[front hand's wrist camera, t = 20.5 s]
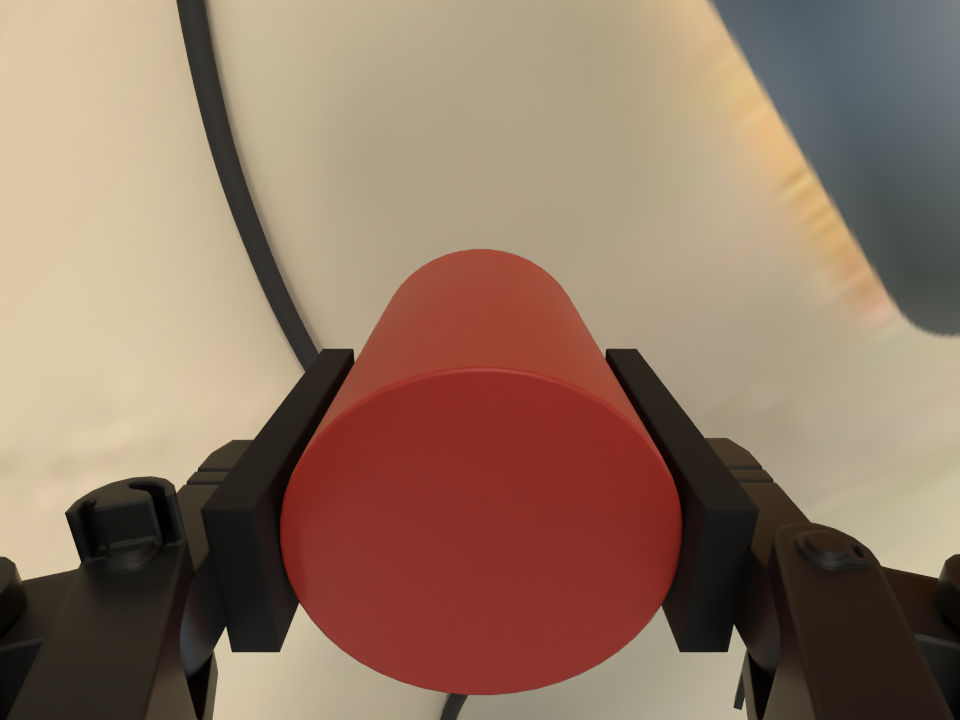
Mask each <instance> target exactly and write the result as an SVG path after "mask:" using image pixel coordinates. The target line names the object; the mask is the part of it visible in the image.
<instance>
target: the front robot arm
mask: <svg viewBox="0 0 960 720" xmlns="http://www.w3.org/2000/svg"><path fill="white" fill-rule="evenodd" d="M177 6H178V12H179V17H180V22H181V27H182V33H183V38H184V42H185V47H186V52H187V57H188V61H189V66H190V70H191V75H192V79H193V83H194V88H195V92H196V96H197V100H198V104H199V108H200V112H201V116H202V120H203V124H204V128H205V131H206V135H207V139H208V142H209V145H210V149H211V152H212V156H213V159H214V162H215V165H216V169H217V172H218V175H219V178H220V181H221V184H222V187H223V190H224V193H225V195H226V198H227V201H228V204H229V207H230V209H231V212H232V215H233V217H234V220H235V223H236V225H237V228H238V230H239V233H240V235H241V238H242V240H243V243H244V245H245V248H246V250H247V253H248V255H249V258H250V260H251V263H252V265H253V267H254V270H255V272H256V274H257V277H258V279H259V281H260V284H261V286H262V288H263V290H264V293H265V295H266V297H267V299H268V301H269V303H270V306H271V308H272V310H273V312H274V314H275V316H276V318H277V320H278V322H279V324H280V326H281V328H282V330H283V332H284V334H285V336H286V337H287V339H288V341H289V343H290V345H291V347H292V349H293V350H294V352H295V354H296V356H297V358H298V359H299V361H300V363H301V365H302V367H303V368H304V370H305V373H304V375H303V376H302V377H301V379H300V380H299V381H298V383H297V384H296V385H295V387H294V388H293V389H292V390H291V392H290V393H289V394H288V396H287V397H286V398H285V400H284V401H283V402H282V404H281V405H280V406H279V407H278V409H277V410H276V411H275V413H274V414H273V415H272V417H271V418H270V419H269V421H268V422H267V423H266V424H265V426H264V427H263V428H262V430H261V431H260V432H259V434H258V435H257V436H256V438H255V439H254V440H232V441H231V442H229V443H227V444H226V445H224V446H222V447H221V448H219V449H217V450H216V451H214V452H213V453H211V454H210V455H209V457H208V458H207V459H206V460H205V461H204V462H203V463H202V465H201V466H200V467H199V468H198V472H195V473H194V474H193V475H192V476H191V477H190V478H189V480H188V481H187V484H186V485H183V486H182V488H181V489H180V490H179V491H178V492H177V493H176V490H175V486H174V485H173V484H172V483H171V482H169V481H168V480H167V479H163V478H158V477H152V476H150V477H135V478H129V479H125V480H121V481H117V482H113V483H110V484H108V485H105V486H103V487H100V488H98V489H96V490H93V491H91V492H90V493H88V494H87V495H85V496H83V497H82V498H80V499H79V500H77V501H76V502H75V503H74V504H73V505H72V506H71V507H70V508H69V509H68V510H67V511H66V512H65V515H66V518H67V521H68V524H69V527H70V530H71V533H72V536H73V539H74V542H75V545H76V548H77V551H78V554H79V557H80V560H81V564H80V566H79V568H78V569H75V570H71V571H67V572H62V573H57V574H53V575H48V576H43V577H38V578H34V579H29V580H24V581H21V578H20V575H19V573H18V570H17V568H16V565H15V563H13V562H12V561H11V560H9V559H8V558H6V557H0V720H212V719H213V710H214V702H215V694H216V685H217V677H218V670H217V663H216V658H215V654H214V648H215V646H216V644H217V642H218V640H219V638H220V636H221V634H222V633H223V631H224V629H225V627H227V632H228V636H229V641H230V645H231V650H232V652H280V650H281V647H282V645H283V642H284V640H285V637H286V635H287V632H288V630H289V627H290V625H291V622H292V619H293V617H294V614H295V612H296V609H297V607H298V604H299V600H298V598H297V596H296V594H295V592H294V590H293V588H292V586H291V584H290V581H289V578H288V575H287V572H286V569H285V566H284V563H283V556H282V550H281V543H280V516H281V510H282V505H283V499H284V495H285V492H286V489H287V486H288V483H289V480H290V477H291V475H292V473H293V471H294V469H295V467H296V465H297V463H298V462H299V460H300V458H301V456H302V454H303V452H304V451H305V449H306V447H307V445H308V444H309V442H310V440H311V438H312V437H313V435H314V433H315V431H316V430H317V428H318V426H319V424H320V423H321V421H322V419H323V417H324V416H325V414H326V412H327V411H328V409H329V407H330V405H331V404H332V402H333V400H334V398H335V397H336V395H337V393H338V391H339V390H340V388H341V386H342V384H343V383H344V381H345V379H346V377H347V376H348V374H349V372H350V370H351V369H352V367H353V365H354V363H355V362H354V351H353V349H323V350H322V351H321V353H320V354H319V353H318V351H317V350H316V348H315V346H314V344H313V342H312V340H311V338H310V337H309V335H308V333H307V331H306V329H305V327H304V325H303V323H302V321H301V319H300V317H299V315H298V313H297V311H296V309H295V307H294V304H293V302H292V300H291V298H290V296H289V294H288V291H287V289H286V287H285V285H284V282H283V280H282V278H281V275H280V273H279V271H278V268H277V266H276V263H275V261H274V258H273V256H272V253H271V251H270V248H269V246H268V243H267V241H266V238H265V235H264V233H263V230H262V228H261V225H260V222H259V219H258V217H257V214H256V211H255V209H254V206H253V203H252V200H251V197H250V194H249V191H248V188H247V185H246V182H245V179H244V176H243V173H242V170H241V167H240V163H239V160H238V156H237V153H236V150H235V146H234V142H233V139H232V135H231V131H230V127H229V123H228V119H227V115H226V111H225V107H224V102H223V98H222V93H221V89H220V84H219V80H218V75H217V70H216V66H215V61H214V56H213V51H212V46H211V41H210V35H209V30H208V24H207V18H206V12H205V6H204V0H177ZM605 360H606V362H607V363H608V365H609V367H610V368H611V370H612V372H613V373H614V375H615V377H616V379H617V380H618V382H619V384H620V385H621V387H622V389H623V391H624V392H625V394H626V396H627V397H628V399H629V401H630V403H631V404H632V406H633V408H634V409H635V411H636V413H637V415H638V416H639V418H640V420H641V421H642V423H643V425H644V427H645V428H646V430H647V432H648V433H649V435H650V437H651V439H652V440H653V442H654V444H655V445H656V447H657V449H658V451H659V452H660V454H661V456H662V458H663V460H664V462H665V463H666V465H667V467H668V469H669V471H670V473H671V475H672V477H673V480H674V483H675V486H676V489H677V492H678V496H679V499H680V505H681V512H682V518H683V534H682V546H681V552H680V557H679V563H678V568H677V571H676V574H675V577H674V580H673V583H672V586H671V588H670V590H669V592H668V593H667V595H666V597H665V599H664V601H663V603H662V608H663V610H664V613H665V615H666V618H667V620H668V623H669V625H670V628H671V631H672V633H673V636H674V638H675V641H676V643H677V646H678V648H679V651H680V652H728V648H729V644H730V639H731V635H732V630H733V626H734V625H735V627H736V629H737V630H738V632H739V634H740V636H741V638H742V640H743V642H744V644H745V645H746V647H747V649H746V654H745V658H744V662H743V666H742V670H741V675H740V679H739V683H738V687H737V691H736V695H735V702H734V708H736V709H740V710H742V706H743V702H744V698H745V701H746V709H747V717H748V720H960V554H956V555H953V556H952V557H950V558H949V559H948V560H946V561H945V564H944V566H943V569H942V571H941V574H940V577H939V579H938V578H934V577H929V576H924V575H919V574H914V573H910V572H905V571H900V570H895V569H891V568H887V567H883V566H881V565H880V563H879V561H878V560H877V559H876V557H875V556H874V555H873V553H872V552H871V551H870V550H869V549H868V548H867V547H866V546H864V545H863V544H862V543H860V542H859V541H857V540H856V539H855V538H853V537H851V536H849V535H847V534H845V533H843V532H841V531H839V530H837V529H834V528H831V527H827V526H824V525H820V524H816V523H811V522H810V521H809V520H808V519H807V517H806V516H805V515H804V514H803V513H802V512H801V511H800V509H799V508H798V507H797V506H796V505H795V504H794V503H793V501H792V500H791V499H790V498H789V497H788V496H787V495H786V493H785V492H784V491H783V490H782V489H781V488H780V487H779V485H778V484H777V483H774V482H773V479H772V477H771V476H770V475H769V474H768V473H767V472H766V471H765V470H762V466H761V465H760V464H759V463H758V461H757V460H756V459H755V458H754V457H753V456H752V455H751V454H750V452H749V451H747V450H746V449H744V448H742V447H741V446H739V445H737V444H736V443H734V442H732V441H731V440H729V439H727V438H704V437H703V435H702V434H701V433H700V432H699V430H698V429H697V428H696V426H695V425H694V424H693V422H692V421H691V420H690V418H689V417H688V416H687V415H686V413H685V412H684V411H683V409H682V408H681V407H680V405H679V404H678V403H677V401H676V400H675V399H674V398H673V396H672V395H671V394H670V392H669V391H668V390H667V388H666V387H665V386H664V384H663V383H662V382H661V381H660V379H659V378H658V377H657V375H656V374H655V373H654V371H653V370H652V369H651V367H650V366H649V365H648V364H647V362H646V361H645V360H644V358H643V357H642V356H641V354H640V353H639V352H638V350H637V349H606V358H605ZM467 696H468V695H465V694H454V693H452V694H451V696H450V698H449V700H448V702H447V704H446V707H445V709H444V711H443V714H442V717H441V720H456V719H457V716H458V713H459V711H460V709H461V707H462V705H463V704H464V702H465V700H466V698H467Z"/></svg>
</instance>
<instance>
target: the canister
mask: <svg viewBox="0 0 960 720" xmlns="http://www.w3.org/2000/svg"><path fill="white" fill-rule="evenodd" d="M682 534H683V518H682V512H681V505H680V499H679V496H678V492H677V489H676V486H675V483H674V480H673V477H672V475H671V473H670V471H669V469H668V467H667V465H666V463H665V462H664V460H663V458H662V456H661V454H660V452H659V451H658V449H657V447H656V445H655V444H654V442H653V440H652V439H651V437H650V435H649V433H648V432H647V430H646V428H645V427H644V425H643V423H642V421H641V420H640V418H639V416H638V415H637V413H636V411H635V409H634V408H633V406H632V404H631V403H630V401H629V399H628V397H627V396H626V394H625V392H624V391H623V389H622V387H621V385H620V384H619V382H618V380H617V379H616V377H615V375H614V373H613V372H612V370H611V368H610V367H609V365H608V363H607V362H606V360H605V358H604V356H603V355H602V353H601V351H600V350H599V348H598V346H597V344H596V343H595V341H594V339H593V338H592V336H591V334H590V332H589V331H588V329H587V327H586V326H585V324H584V322H583V320H582V319H581V317H580V315H579V314H578V312H577V310H576V308H575V307H574V305H573V303H572V302H571V300H570V298H569V296H568V295H567V294H566V292H565V291H564V289H563V288H562V287H561V285H560V284H559V283H558V282H557V281H556V280H555V279H554V278H553V277H552V276H551V275H550V274H548V273H547V272H546V271H545V270H543V269H542V268H541V267H539V266H537V265H536V264H534V263H532V262H531V261H529V260H527V259H524V258H522V257H519V256H517V255H514V254H510V253H507V252H503V251H497V250H489V249H473V250H465V251H459V252H455V253H451V254H447V255H445V256H442V257H440V258H437V259H435V260H433V261H431V262H429V263H428V264H426V265H424V266H422V267H421V268H420V269H418V270H417V271H416V272H414V273H413V274H412V275H411V276H410V277H409V278H408V279H407V280H406V281H405V282H404V283H403V284H402V285H401V286H400V287H399V289H398V290H397V291H396V293H395V294H394V296H393V297H392V299H391V301H390V302H389V304H388V306H387V308H386V309H385V311H384V313H383V315H382V316H381V318H380V320H379V322H378V323H377V325H376V327H375V329H374V330H373V332H372V334H371V336H370V337H369V339H368V341H367V343H366V344H365V346H364V348H363V350H362V351H361V353H360V355H359V356H358V358H357V360H356V362H355V363H354V365H353V367H352V369H351V370H350V372H349V374H348V376H347V377H346V379H345V381H344V383H343V384H342V386H341V388H340V390H339V391H338V393H337V395H336V397H335V398H334V400H333V402H332V404H331V405H330V407H329V409H328V411H327V412H326V414H325V416H324V417H323V419H322V421H321V423H320V424H319V426H318V428H317V430H316V431H315V433H314V435H313V437H312V438H311V440H310V442H309V444H308V445H307V447H306V449H305V451H304V452H303V454H302V456H301V458H300V460H299V462H298V463H297V465H296V467H295V469H294V471H293V473H292V475H291V477H290V480H289V483H288V486H287V489H286V492H285V495H284V499H283V505H282V510H281V516H280V543H281V550H282V556H283V563H284V566H285V569H286V572H287V575H288V578H289V581H290V584H291V586H292V588H293V590H294V592H295V594H296V596H297V598H298V600H299V602H300V604H301V605H302V607H303V608H304V610H305V611H306V613H307V614H308V615H309V617H310V618H311V620H312V621H313V622H314V623H315V624H316V625H317V627H318V628H319V629H320V630H321V631H322V632H323V633H324V634H325V635H326V636H327V637H328V638H329V639H330V640H331V641H332V642H334V643H335V644H336V645H337V646H338V647H339V648H340V649H342V650H343V651H344V652H346V653H347V654H349V655H350V656H352V657H353V658H354V659H356V660H357V661H359V662H360V663H362V664H364V665H366V666H368V667H370V668H371V669H373V670H375V671H377V672H379V673H381V674H383V675H386V676H388V677H391V678H393V679H396V680H398V681H401V682H404V683H407V684H410V685H414V686H417V687H421V688H424V689H429V690H435V691H440V692H445V693H454V694H465V695H497V694H508V693H517V692H522V691H528V690H533V689H538V688H542V687H545V686H549V685H552V684H556V683H559V682H562V681H564V680H567V679H569V678H572V677H574V676H577V675H579V674H581V673H583V672H585V671H587V670H589V669H591V668H593V667H595V666H597V665H599V664H600V663H602V662H603V661H605V660H606V659H608V658H609V657H611V656H612V655H614V654H615V653H617V652H618V651H620V650H621V649H622V648H623V647H624V646H626V645H627V644H628V643H629V642H630V641H631V640H633V639H634V638H635V637H636V636H637V635H638V634H639V633H640V632H641V630H642V629H643V628H644V627H645V626H646V625H647V624H648V623H649V622H650V620H651V619H652V618H653V616H654V615H655V613H656V612H657V611H658V609H659V608H660V606H661V605H662V603H663V601H664V599H665V597H666V595H667V593H668V592H669V590H670V588H671V586H672V583H673V580H674V577H675V574H676V571H677V568H678V563H679V557H680V552H681V546H682Z"/></svg>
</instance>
